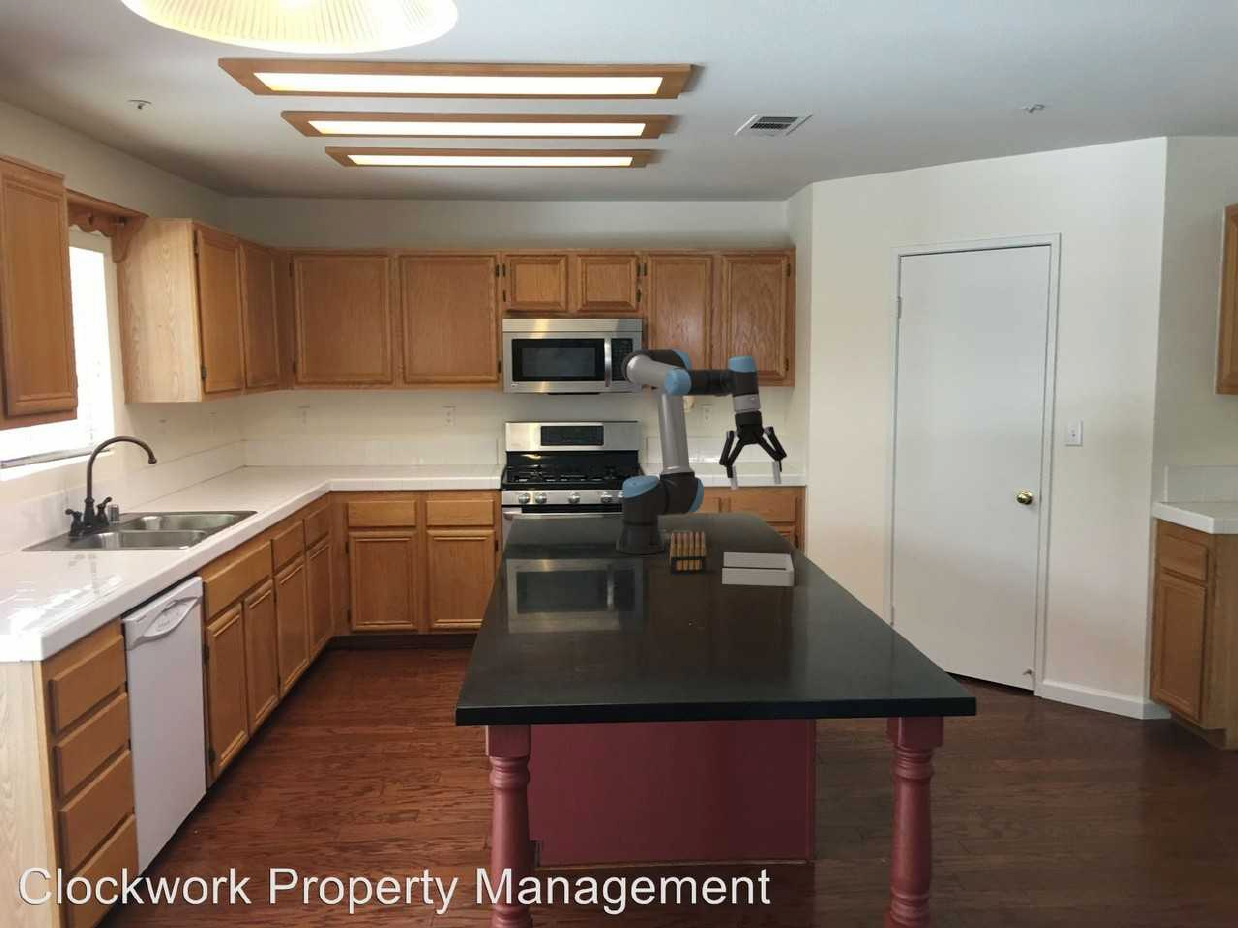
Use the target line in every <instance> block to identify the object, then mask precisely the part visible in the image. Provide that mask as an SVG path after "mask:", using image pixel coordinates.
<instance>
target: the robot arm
mask: <svg viewBox="0 0 1238 928" xmlns="http://www.w3.org/2000/svg"><path fill="white" fill-rule="evenodd" d="M620 369H621V374H622V376H623V378H624V379H625V380H626V381H627V382H628V383H630V384H632V385H635V386H650V389H651V393H652V394H653V395H654V396H655V397H656V404H657V415H658V416H657V417H658V427H659V436H660V437H659V438H660V446H661V447H660V448H661V459H662V468H663V469H662V470H661V471H660V472H659V474H658V475H659V476H658V475H654V474H653V475H652V474H650V475H649V474H647V475H637V476H633V477H629V478H627V479H626V480H624V481H623V483H622V489H621V529H620V532H619V535H618V538H617V540H616V550H617V552H620V553H624V554H631V555H652V554H657V553H661V552H663V551H664V550H665V542H664V540H663V535H662V533H661V530H660V526H659V525H660V524H659V521H660V520H659V518H660V517H663V516H676V515H683V516H685V515H688V514H694V513H696V512H697V511H699V509H700V508H701V506H702V504H703V501H704V495H705V487H704V484H703V482H702V480H701V479H700V478H699V477H697V476H696V471H695V470H694V469H693V468H691V466H690V456H689V448H688V435H687V425H686V424H687V423H686V416H685V415H686V414H685V404H684V397H691V396H692V397H695V396H697V397H698V396H699V397H700V396H701V397H702V396H703V397H704V396H705V397H706V396H711V397H712V396H714V397H716V398H721V397H723V398H724V397H727V396H731V397H732V404H733V411H734V413H735V415H734V421H735V427H736V430H727V431H726V433H725V434H726V439H725V442H724V446H723V449H722V452H721V456H720V459H719V462H718V465H720V466H723V467H725V468H726V477H727V478H728V479H730V480H729V481H730V487H731V491H735V490H737V491H738V490H739V483H738V475H737V467H736V465H734V463H735V462H736V460H737V459H738V458H739V455H740V453H741V451H742V450H743V448H744V447H745V446H750V445H759V446H760V447H761V448H762V449H763V450H764V452H766V454H768V456H769V457H770V458H771V459H772V460H773V461H771V466H772V467H771V469H772V475H773V485H776V486H777V485H782V478H781V473H782V472H783V465H782V461H783V460H784V459H786V458H788V454H787V452H786V451H785V449H784V447H783V445H782V444H781V442H780V440H779V439H778V437H777V435H776V432H775V430H774V429H775V427H773V426H767V427H763V423H764V422H763V421H764V420H763V415H762V414H763V413H762V411H761V410H760V409H761V408H762V405H761V398H760V389H759V386H760V385H759V378H758V368H757V365H756V359H755V357H754V356H752V355H741V356H735V357H731V358H729V360H728V367H727V368H721V369H717V368H716V369H713V368H712V369H706V368H703V369H694V368H693V366H692V362H691V360H690V357H689V355H688V354H687V353H686V352H685V351H683V350H680V349H673V348H667V349H666V348H665V349H655V348H654V349H648V348H647V349H646V348H644V349H643V348H642V349H641V348H640V349H637V350H633V351H631V352H629V353H628V354H627V355H626V356H625V357H624V358H623V360H622V363H621V368H620ZM764 435H766V437H767V439H768V440H769V442H768V440H767V439H766V438H765V437H764ZM736 437H737V439H738V440H737V442H736V444H735V446H734V448H733V450H732V447H733V444H734V441H735V438H736ZM769 443H770V444H769ZM731 450H732V451H731Z"/></svg>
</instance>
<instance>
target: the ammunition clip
mask: <svg viewBox="0 0 1238 928" xmlns="http://www.w3.org/2000/svg"><path fill="white" fill-rule="evenodd" d="M681 535H682V534H681V532H680V531H679V532H678V534H677V537H676V535H675V532H674V531H673V532H672V533H671V538H670V547H669V564H668V574H669V575H696V574H698V575H699V574H700V575H701V574H702V575H703V574H707V573H708V572H707V571H708V570H707V544H706V533H705V531H702V533H701V538H700V533H699V531H696V533H695V540H694V534H693V531H690V533H689V537H688V534H687V532H686V531H684V533H683V538H682V536H681ZM676 538H677V539H676ZM688 539H689V541H688ZM700 541H701V542H700Z"/></svg>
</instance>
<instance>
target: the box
mask: <svg viewBox="0 0 1238 928" xmlns="http://www.w3.org/2000/svg"><path fill="white" fill-rule="evenodd" d="M723 567H725V568H722V569H721V570H722V571H721V572H722V574H721V577H722V578H721V579H722V582H721V584H723V585H752V586H780V587H783V586H784V587H794V586H795V569H794V565H793V560H792V556H791V553H769V552H768V553H764V552H761V553H760V552H737V551H736V552H732V551H724V552H723ZM726 567H730V568H726ZM731 567H732V568H731ZM734 567H735V568H734ZM739 567H740V568H739ZM749 568H751V569H749ZM753 568H754V569H753ZM756 568H759V569H756ZM760 568H766V569H760ZM767 568H768V569H767ZM782 569H783V570H782ZM784 569H785V570H784Z"/></svg>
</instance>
